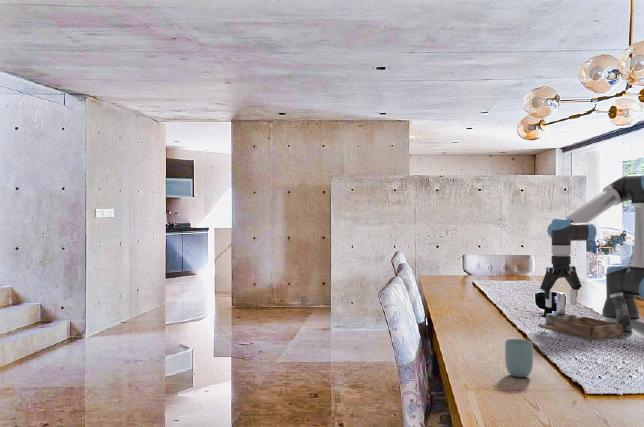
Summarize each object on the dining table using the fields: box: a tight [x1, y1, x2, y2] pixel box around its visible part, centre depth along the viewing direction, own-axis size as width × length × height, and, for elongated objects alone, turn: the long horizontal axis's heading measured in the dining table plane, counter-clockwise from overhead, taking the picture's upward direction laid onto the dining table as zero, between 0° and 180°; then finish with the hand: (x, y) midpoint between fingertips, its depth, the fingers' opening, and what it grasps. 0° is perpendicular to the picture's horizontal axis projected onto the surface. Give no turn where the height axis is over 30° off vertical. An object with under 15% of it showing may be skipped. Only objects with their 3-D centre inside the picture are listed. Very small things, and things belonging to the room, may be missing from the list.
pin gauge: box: [556, 292, 566, 316], centre depth 249 cm, size 3×3×13 cm
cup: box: [504, 338, 534, 378], centre depth 176 cm, size 8×8×10 cm
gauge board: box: [537, 312, 624, 340], centre depth 240 cm, size 16×28×5 cm, turn 23°
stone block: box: [609, 293, 633, 332], centre depth 241 cm, size 9×14×5 cm
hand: (561, 306), depth 249 cm, fingers open, 13 cm apart
